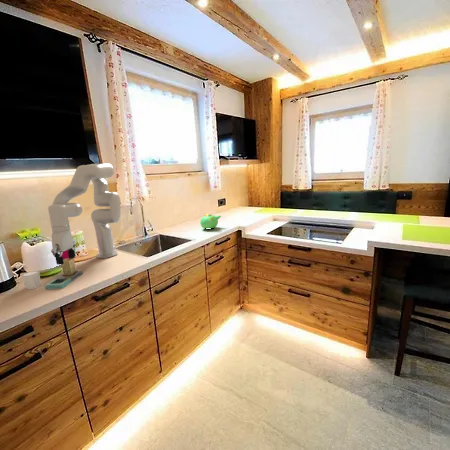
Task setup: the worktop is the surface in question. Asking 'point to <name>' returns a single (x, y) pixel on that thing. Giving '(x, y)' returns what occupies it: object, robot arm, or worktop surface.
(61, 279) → the teal and grey tray
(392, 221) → the worktop surface
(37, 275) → the white cylinder
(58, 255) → the robot arm
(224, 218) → the worktop surface
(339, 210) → the worktop surface
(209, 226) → the green teapot
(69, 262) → the nut block
